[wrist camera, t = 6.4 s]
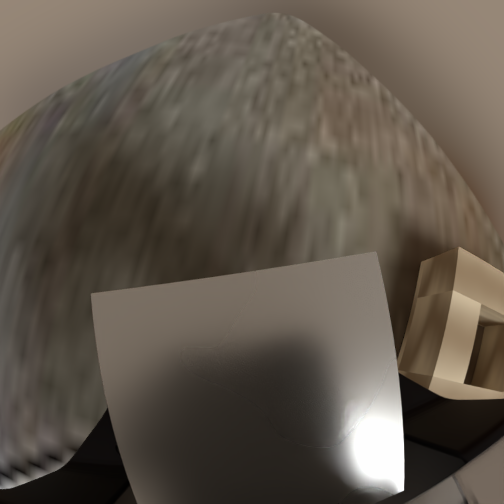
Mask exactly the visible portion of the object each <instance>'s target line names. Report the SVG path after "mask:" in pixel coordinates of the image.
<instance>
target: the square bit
mask: <svg viewBox="0 0 504 504" xmlns="http://www.w3.org/2000/svg"><path fill="white" fill-rule="evenodd" d="M91 302H92V312H93V322H94V330H95V338H96V346H97V352H98V359H99V365H100V371H101V376H102V382H103V387H104V392H105V396H106V401H107V406H108V410H109V414H110V418H111V422H112V426H113V430H114V434H115V437H116V441H117V445H118V448H119V451H120V455H121V458H122V461H123V464H124V467H125V471H126V474H127V476H128V479H129V482H130V485H131V488H132V491H133V493H134V496H135V499H136V501H137V504H374V503H376V502H379V501H381V500H384V499H386V498H388V497H390V496H393V495H395V494H397V493H399V492H401V491H403V490H404V439H403V420H402V406H401V395H400V385H399V375H398V367H397V359H396V352H395V345H394V338H393V332H392V326H391V320H390V314H389V309H388V303H387V298H386V293H385V288H384V283H383V279H382V274H381V270H380V265H379V261H378V257H377V252H376V251H375V252H369V253H363V254H357V255H351V256H345V257H339V258H333V259H327V260H321V261H315V262H308V263H302V264H296V265H289V266H283V267H276V268H270V269H263V270H257V271H250V272H243V273H237V274H230V275H223V276H216V277H209V278H202V279H195V280H188V281H181V282H174V283H167V284H159V285H152V286H144V287H137V288H129V289H121V290H114V291H106V292H98V293H91Z"/></svg>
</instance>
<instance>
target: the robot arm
mask: <svg viewBox="0 0 504 504" xmlns="http://www.w3.org/2000/svg"><path fill="white" fill-rule="evenodd" d="M398 375H399V385H400V395H401V406H402V420H403V439H404V490H403V491H401V492H399V493H397V494H395V495H393V496H390V497H388V498H386V499H384V500H381V501H379V502H376V503H374V504H504V398H503V399H472V400H458V399H449V398H445V397H443V396H440V395H438V394H436V393H434V392H432V391H430V390H429V389H427V388H425V387H423V386H422V385H420V384H418V383H416V382H414V381H413V380H411V379H409V378H407V377H406V376H404V375H402V374H401V373H399V372H398ZM0 504H137V501H136V499H135V496H134V493H133V491H132V488H131V485H130V482H129V479H128V476H127V474H126V471H125V467H124V464H123V461H122V458H121V455H120V451H119V448H118V445H117V441H116V437H115V434H114V430H113V426H112V422H111V418H110V414H109V410H108V408H107V410H106V411H105V413H104V415H103V416H102V418H101V419H100V421H99V422H98V423H97V425H96V426H95V428H94V429H93V430H92V432H91V433H90V434H89V436H88V437H87V438H86V440H85V441H84V442H83V444H82V445H81V446H80V448H79V449H78V450H77V452H76V453H75V454H74V456H73V457H72V458H71V459H70V461H69V462H68V463H67V464H66V465H64V466H63V467H62V468H60V469H59V470H57V471H55V472H52V473H50V474H47V475H45V476H43V477H40V478H38V479H35V480H33V481H30V482H27V483H25V484H22V485H19V486H17V487H14V488H10V489H0Z"/></svg>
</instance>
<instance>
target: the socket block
mask: <svg viewBox="0 0 504 504" xmlns="http://www.w3.org/2000/svg"><path fill="white" fill-rule="evenodd" d="M397 367H398V372H399V373H401V374H402V375H404V376H406V377H407V378H409V379H411V380H413V381H414V382H416V383H418V384H420V385H422V386H423V387H425V388H427V389H429V390H430V391H432V392H434V393H436V394H438V395H440V396H443V397H445V398H449V399H458V400H472V399H503V398H504V273H502V272H501V271H499V270H498V269H496V268H494V267H493V266H491V265H490V264H488V263H486V262H485V261H483V260H481V259H480V258H478V257H476V256H475V255H473V254H471V253H469V252H468V251H466V250H464V249H462V248H461V247H456V248H454V249H452V250H449V251H447V252H444V253H442V254H440V255H437V256H435V257H432V258H430V259H427V260H425V261H422V262H421V265H420V271H419V276H418V281H417V286H416V291H415V295H414V300H413V304H412V308H411V312H410V317H409V320H408V324H407V328H406V332H405V336H404V339H403V343H402V346H401V349H400V353H399V356H398V359H397Z"/></svg>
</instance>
